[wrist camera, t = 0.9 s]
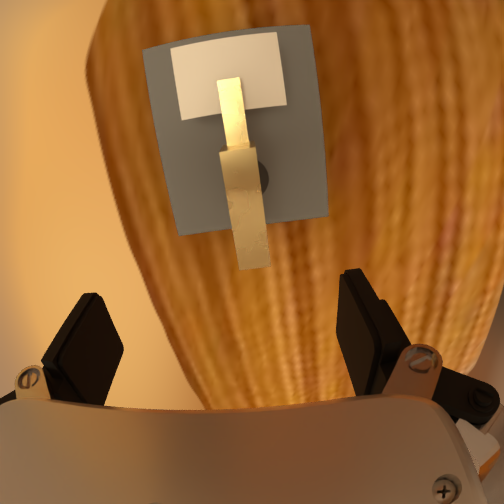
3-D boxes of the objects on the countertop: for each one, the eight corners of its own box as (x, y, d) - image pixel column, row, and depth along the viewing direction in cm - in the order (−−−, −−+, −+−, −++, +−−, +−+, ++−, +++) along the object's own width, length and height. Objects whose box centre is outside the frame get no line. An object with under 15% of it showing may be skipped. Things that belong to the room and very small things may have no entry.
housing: (305, 29, 24) (309, 24, 23) (324, 209, 34) (328, 216, 32) (148, 52, 25) (141, 50, 23) (182, 228, 34) (178, 236, 33)
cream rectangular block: (270, 45, 24) (276, 31, 18) (278, 104, 27) (286, 104, 21) (184, 58, 24) (170, 48, 19) (194, 116, 27) (181, 120, 22)
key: (245, 82, 25) (245, 73, 17) (264, 220, 32) (270, 266, 24) (219, 86, 25) (207, 79, 17) (240, 223, 32) (239, 270, 24)
